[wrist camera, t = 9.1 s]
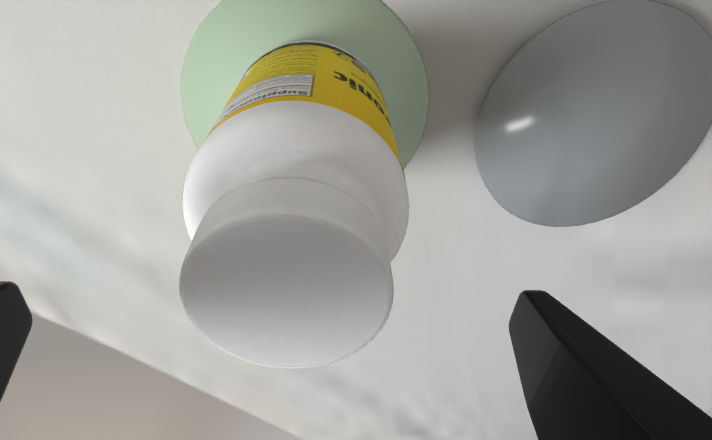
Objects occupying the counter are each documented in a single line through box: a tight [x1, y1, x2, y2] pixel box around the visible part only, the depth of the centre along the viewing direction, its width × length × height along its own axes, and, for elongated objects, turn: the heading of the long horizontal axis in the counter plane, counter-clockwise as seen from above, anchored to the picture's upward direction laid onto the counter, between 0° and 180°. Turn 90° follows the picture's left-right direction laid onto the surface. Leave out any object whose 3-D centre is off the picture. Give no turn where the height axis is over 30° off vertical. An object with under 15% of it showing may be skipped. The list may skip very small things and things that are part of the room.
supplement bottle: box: [179, 40, 409, 369], centre depth 12 cm, size 5×5×10 cm
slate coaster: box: [475, 0, 712, 227], centre depth 17 cm, size 9×9×1 cm
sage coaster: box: [181, 0, 429, 170], centre depth 17 cm, size 9×9×1 cm
